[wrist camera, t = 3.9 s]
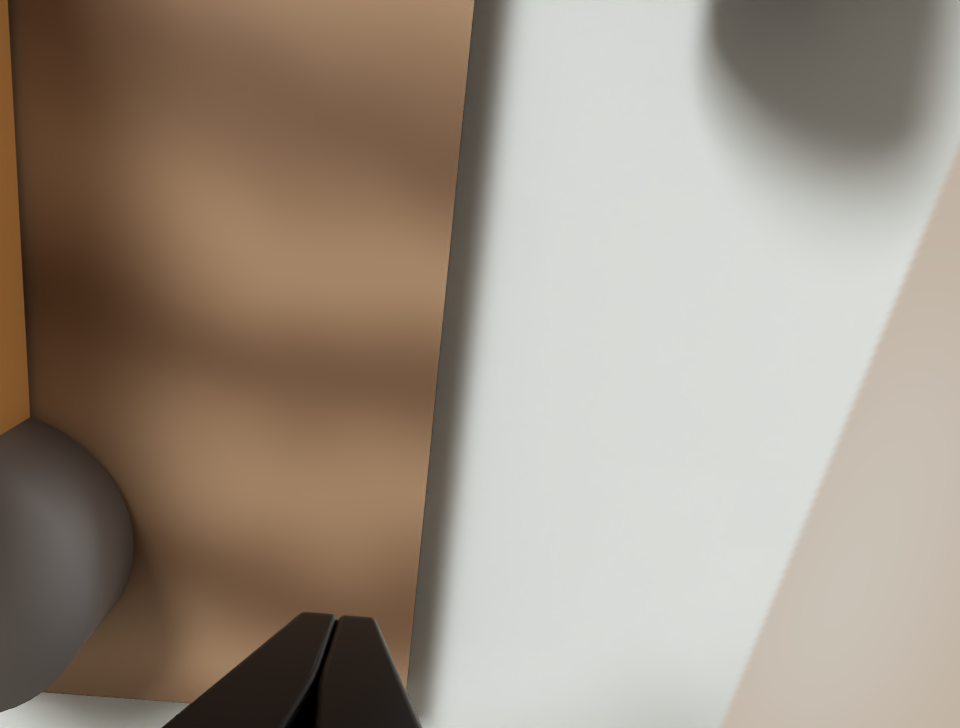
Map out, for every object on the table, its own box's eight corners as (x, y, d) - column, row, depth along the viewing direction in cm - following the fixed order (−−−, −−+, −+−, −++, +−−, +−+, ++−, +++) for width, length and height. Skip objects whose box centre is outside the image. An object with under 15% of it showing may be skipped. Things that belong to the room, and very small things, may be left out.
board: (407, 683, 23) (403, 721, 22) (-348, 626, 22) (-409, 661, 20) (486, -124, 17) (489, -151, 16) (-538, -261, 16) (-644, -306, 14)
